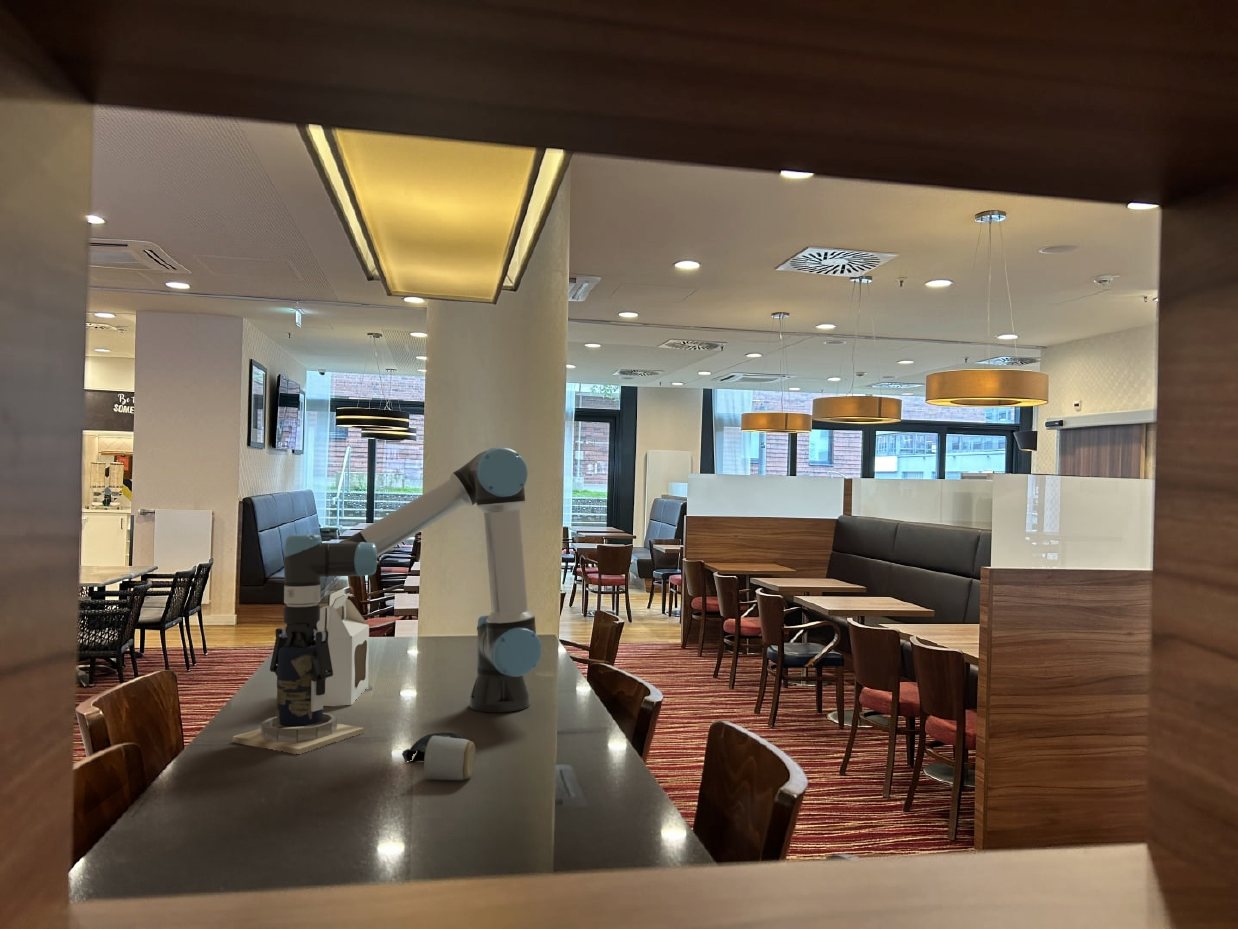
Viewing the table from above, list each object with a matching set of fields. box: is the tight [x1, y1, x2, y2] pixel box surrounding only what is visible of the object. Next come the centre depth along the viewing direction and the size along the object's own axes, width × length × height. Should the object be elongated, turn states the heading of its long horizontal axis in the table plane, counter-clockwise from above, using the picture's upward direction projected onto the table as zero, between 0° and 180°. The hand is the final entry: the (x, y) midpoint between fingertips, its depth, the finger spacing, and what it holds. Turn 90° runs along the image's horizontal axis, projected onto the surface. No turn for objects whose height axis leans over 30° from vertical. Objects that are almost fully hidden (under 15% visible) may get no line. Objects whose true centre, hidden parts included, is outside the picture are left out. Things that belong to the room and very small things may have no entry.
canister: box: [276, 645, 324, 727], centre depth 180 cm, size 10×10×18 cm
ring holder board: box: [232, 712, 365, 755], centre depth 180 cm, size 20×18×4 cm
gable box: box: [317, 588, 370, 707], centre depth 219 cm, size 22×13×28 cm, turn 6°
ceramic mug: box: [423, 736, 477, 781], centre depth 154 cm, size 11×8×8 cm
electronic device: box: [401, 731, 464, 762], centre depth 169 cm, size 9×6×15 cm
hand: (300, 707), depth 180 cm, fingers closed on canister, 9 cm apart
